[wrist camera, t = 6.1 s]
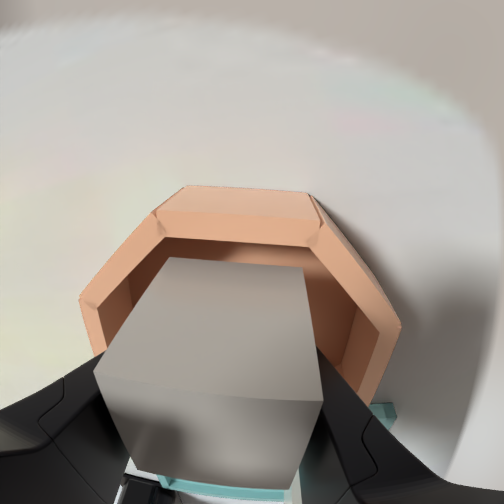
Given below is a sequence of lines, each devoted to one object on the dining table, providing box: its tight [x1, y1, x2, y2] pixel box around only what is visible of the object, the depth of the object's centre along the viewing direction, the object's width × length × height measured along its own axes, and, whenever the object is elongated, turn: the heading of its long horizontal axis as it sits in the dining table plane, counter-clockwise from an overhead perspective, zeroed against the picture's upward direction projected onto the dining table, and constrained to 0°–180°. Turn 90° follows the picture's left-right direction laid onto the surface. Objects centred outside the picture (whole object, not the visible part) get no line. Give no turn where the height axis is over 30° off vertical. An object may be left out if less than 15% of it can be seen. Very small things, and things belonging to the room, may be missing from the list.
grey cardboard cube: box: [284, 468, 302, 504], centre depth 17 cm, size 4×4×5 cm
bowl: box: [79, 186, 402, 407], centre depth 12 cm, size 12×12×4 cm
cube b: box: [93, 257, 323, 490], centre depth 8 cm, size 4×4×5 cm
